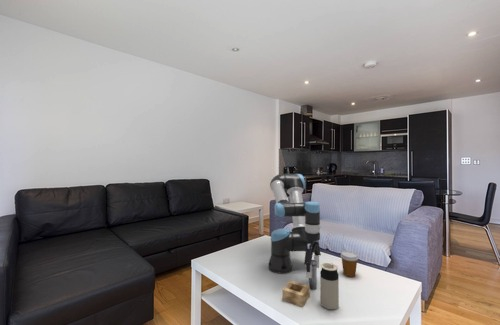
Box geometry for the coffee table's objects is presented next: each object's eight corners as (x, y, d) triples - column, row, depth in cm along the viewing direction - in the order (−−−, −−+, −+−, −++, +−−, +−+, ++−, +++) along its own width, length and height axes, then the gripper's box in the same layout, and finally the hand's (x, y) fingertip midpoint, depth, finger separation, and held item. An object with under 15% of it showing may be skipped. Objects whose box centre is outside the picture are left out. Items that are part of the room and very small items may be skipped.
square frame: (282, 299, 111) (282, 289, 111) (290, 290, 119) (290, 280, 119) (302, 306, 105) (302, 296, 105) (309, 295, 114) (309, 285, 114)
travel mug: (323, 310, 103) (323, 270, 103) (318, 299, 111) (318, 262, 111) (341, 310, 103) (341, 270, 103) (334, 299, 111) (334, 262, 111)
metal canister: (307, 288, 121) (307, 261, 120) (310, 284, 124) (309, 259, 124) (315, 290, 118) (315, 263, 118) (317, 287, 122) (317, 260, 122)
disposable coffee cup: (360, 279, 129) (360, 258, 129) (342, 277, 131) (342, 256, 131) (356, 271, 139) (355, 251, 139) (339, 270, 141) (339, 250, 140)
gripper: (312, 239, 108) (312, 284, 108) (325, 227, 130) (326, 264, 129) (297, 236, 112) (297, 280, 112) (312, 225, 134) (312, 262, 133)
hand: (312, 272), depth 121 cm, fingers open, 13 cm apart
